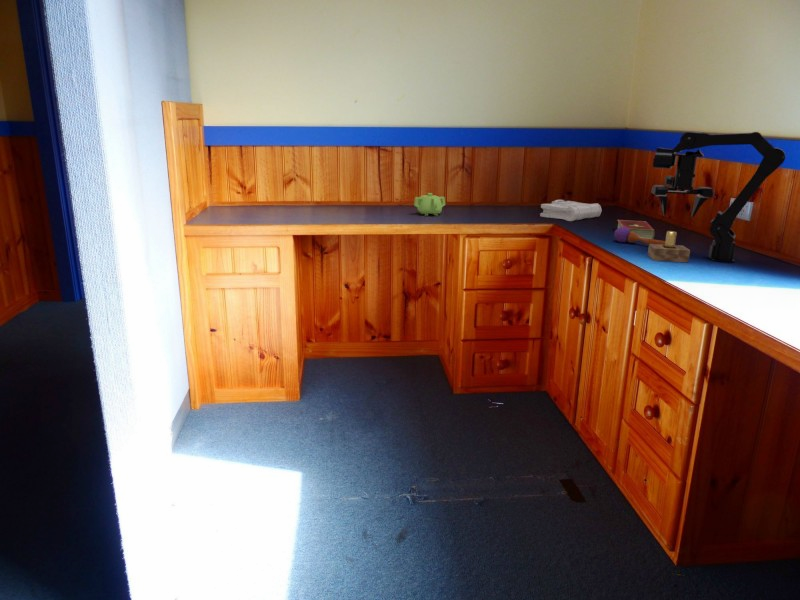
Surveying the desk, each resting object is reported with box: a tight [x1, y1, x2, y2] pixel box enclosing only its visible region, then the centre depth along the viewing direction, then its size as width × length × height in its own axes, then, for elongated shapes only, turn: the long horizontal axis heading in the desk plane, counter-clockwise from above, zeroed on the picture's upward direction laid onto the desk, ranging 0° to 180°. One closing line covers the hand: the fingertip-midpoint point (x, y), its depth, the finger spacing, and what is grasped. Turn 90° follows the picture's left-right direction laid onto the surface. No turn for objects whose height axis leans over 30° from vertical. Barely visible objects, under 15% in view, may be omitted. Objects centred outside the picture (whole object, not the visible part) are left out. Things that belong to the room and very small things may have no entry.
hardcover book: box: [617, 219, 656, 240], centre depth 251 cm, size 12×21×4 cm, turn 167°
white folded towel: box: [539, 199, 603, 222], centre depth 289 cm, size 19×28×8 cm
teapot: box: [413, 192, 446, 217], centre depth 282 cm, size 12×12×10 cm
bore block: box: [647, 244, 691, 263], centre depth 207 cm, size 11×8×4 cm
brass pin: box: [664, 230, 678, 248], centre depth 206 cm, size 3×3×8 cm
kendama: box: [613, 227, 666, 245], centre depth 228 cm, size 6×6×20 cm
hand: (678, 216), depth 212 cm, fingers open, 9 cm apart
